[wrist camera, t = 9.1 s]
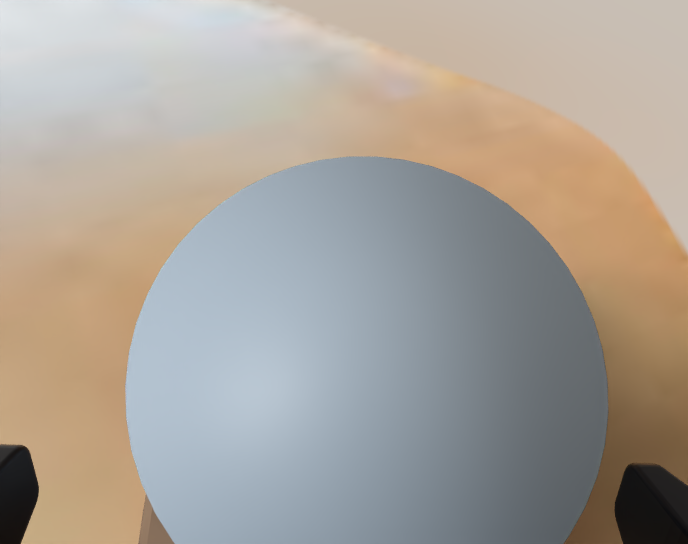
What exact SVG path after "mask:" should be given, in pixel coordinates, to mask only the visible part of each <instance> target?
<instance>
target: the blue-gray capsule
mask: <svg viewBox="0 0 688 544" xmlns="http://www.w3.org/2000/svg"><path fill="white" fill-rule="evenodd" d="M126 419H127V425H128V432H129V438H130V444H131V451H132V454H133V457H134V460H135V464H136V467H137V470H138V474H139V477H140V480H141V483H142V486H143V488H144V490H145V492H146V494H147V496H148V499H149V501H150V503H151V505H152V507H153V510H154V512H155V514H156V515H157V517H158V519H159V520H160V522H161V523H162V525H163V526H164V528H165V530H166V531H167V533H168V534H169V536H170V537H171V539H172V541H173V542H174V543H175V544H563V543H564V542H565V541H566V539H567V538H568V537H569V535H570V533H571V531H572V530H573V528H574V526H575V524H576V523H577V521H578V519H579V517H580V516H581V514H582V512H583V510H584V509H585V506H586V504H587V501H588V499H589V496H590V494H591V491H592V489H593V486H594V484H595V481H596V478H597V475H598V471H599V467H600V463H601V459H602V455H603V451H604V447H605V439H606V430H607V420H608V383H607V375H606V369H605V362H604V356H603V350H602V346H601V343H600V339H599V336H598V332H597V329H596V325H595V322H594V319H593V317H592V314H591V312H590V310H589V307H588V305H587V303H586V300H585V298H584V296H583V293H582V291H581V290H580V288H579V286H578V285H577V283H576V281H575V279H574V278H573V276H572V274H571V272H570V271H569V269H568V267H567V266H566V265H565V263H564V262H563V261H562V259H561V258H560V257H559V255H558V254H557V253H556V251H555V250H554V249H553V247H552V246H551V245H550V243H549V242H548V241H547V240H546V239H545V238H544V237H543V236H542V235H541V234H540V233H539V232H538V231H537V230H536V229H535V228H534V227H533V225H532V224H531V223H530V222H529V221H527V220H526V219H525V218H524V217H523V216H521V215H520V214H519V213H518V212H516V211H515V210H514V209H513V208H512V207H510V206H509V205H508V204H507V203H505V202H504V201H502V200H501V199H499V198H497V197H496V196H494V195H493V194H491V193H490V192H488V191H487V190H485V189H484V188H482V187H480V186H478V185H476V184H474V183H472V182H470V181H468V180H466V179H464V178H461V177H459V176H457V175H455V174H452V173H449V172H446V171H443V170H441V169H438V168H435V167H432V166H428V165H424V164H420V163H416V162H411V161H407V160H401V159H392V158H384V157H342V158H334V159H325V160H319V161H315V162H311V163H307V164H302V165H298V166H294V167H291V168H289V169H286V170H283V171H280V172H278V173H275V174H272V175H270V176H267V177H265V178H263V179H261V180H259V181H257V182H255V183H253V184H251V185H249V186H247V187H245V188H244V189H242V190H240V191H239V192H237V193H236V194H234V195H233V196H231V197H230V198H228V199H227V200H225V201H224V202H222V203H221V204H220V205H218V206H217V207H216V208H215V209H214V210H213V211H211V212H210V213H209V214H208V215H207V216H206V217H204V218H203V219H202V220H201V221H200V222H199V223H197V225H196V226H195V227H194V228H193V229H192V230H191V231H190V232H189V233H188V234H187V236H186V237H185V238H184V239H183V240H182V241H181V242H180V243H179V244H178V246H177V247H176V248H175V250H174V251H173V253H172V254H171V256H170V257H169V258H168V260H167V261H166V263H165V264H164V265H163V267H162V268H161V270H160V272H159V274H158V276H157V277H156V279H155V281H154V283H153V285H152V287H151V289H150V291H149V292H148V294H147V297H146V299H145V302H144V304H143V307H142V310H141V312H140V315H139V318H138V320H137V323H136V327H135V331H134V335H133V339H132V343H131V347H130V351H129V358H128V367H127V376H126Z"/></svg>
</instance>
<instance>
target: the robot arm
mask: <svg viewBox="0 0 688 544" xmlns="http://www.w3.org/2000/svg"><path fill="white" fill-rule="evenodd" d="M38 493H39V486H38V481H37V477H36V474H35V470H34V466H33V462H32V459H31V455H30V452H29V450H28V449H27V447H25V446H23V445H6V444H1V445H0V544H21V541H22V539H23V536H24V534H25V531H26V528H27V526H28V523H29V521H30V518H31V515H32V513H33V510H34V508H35V505H36V502H37V499H38ZM615 517H616V521H617V524H618V528H619V531H620V535H621V538H622V541H623V544H688V486H687V485H686V484H684V483H683V482H682V481H680V480H679V479H678V478H676V477H675V476H674V475H672V474H671V473H670V472H668V471H667V470H666V469H664V468H663V467H661V466H660V465H657V464H650V463H632V464H629V465H628V466H627V467H626V469H625V472H624V475H623V478H622V482H621V485H620V488H619V491H618V495H617V498H616V501H615Z"/></svg>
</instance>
